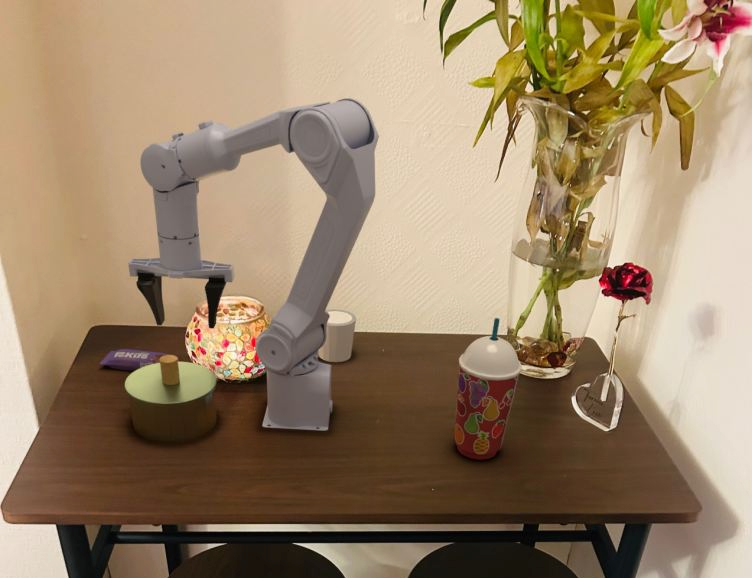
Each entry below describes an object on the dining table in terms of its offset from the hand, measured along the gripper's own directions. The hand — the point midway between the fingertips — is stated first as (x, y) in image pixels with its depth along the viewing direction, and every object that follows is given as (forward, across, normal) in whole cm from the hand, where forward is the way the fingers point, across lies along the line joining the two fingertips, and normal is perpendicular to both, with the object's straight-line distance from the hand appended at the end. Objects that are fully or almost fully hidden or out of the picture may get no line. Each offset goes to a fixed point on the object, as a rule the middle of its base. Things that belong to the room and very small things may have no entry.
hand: (186, 324), depth 115 cm
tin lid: (+4, 0, -12) cm, 12 cm away
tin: (+10, 0, -12) cm, 16 cm away
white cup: (+11, +22, +14) cm, 28 cm away
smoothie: (+11, +44, -14) cm, 47 cm away
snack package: (+11, -10, +6) cm, 15 cm away
